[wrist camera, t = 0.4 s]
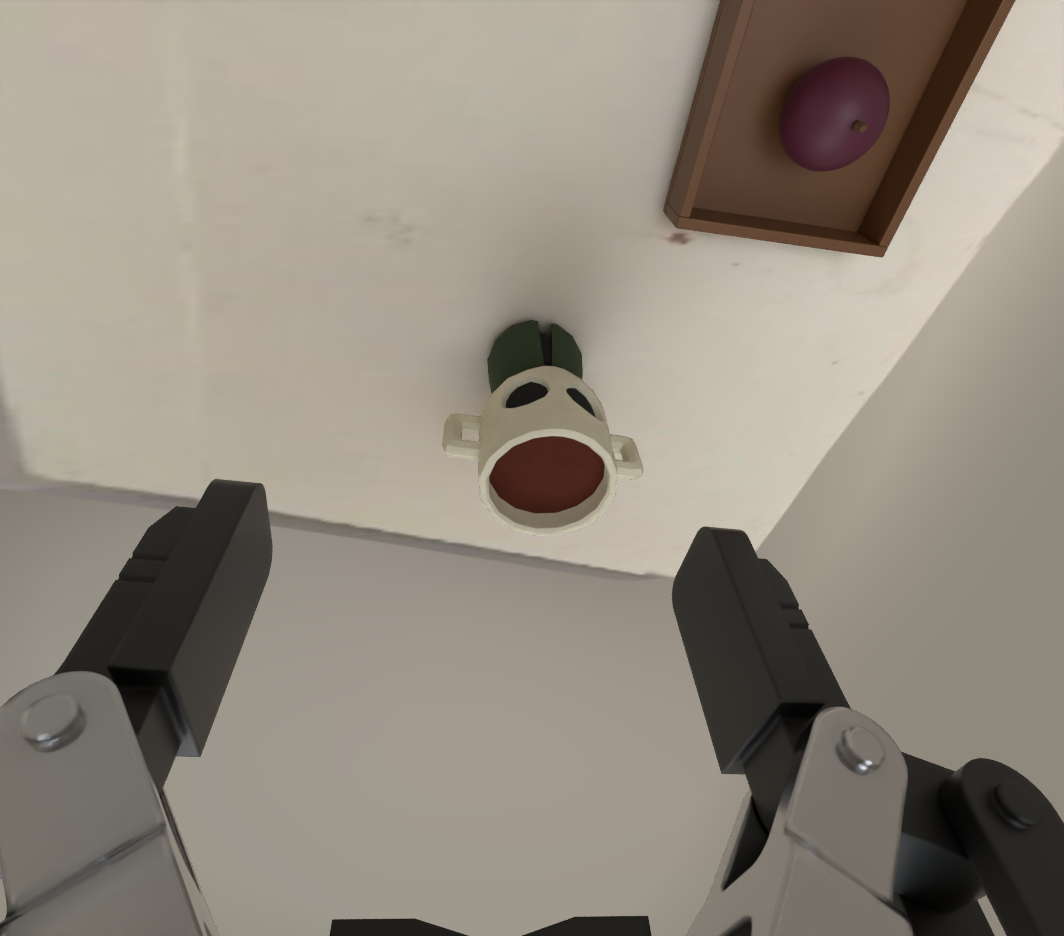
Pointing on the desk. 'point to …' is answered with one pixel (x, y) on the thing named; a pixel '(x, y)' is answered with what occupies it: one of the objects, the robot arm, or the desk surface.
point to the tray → (767, 78)
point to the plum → (834, 114)
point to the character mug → (542, 437)
